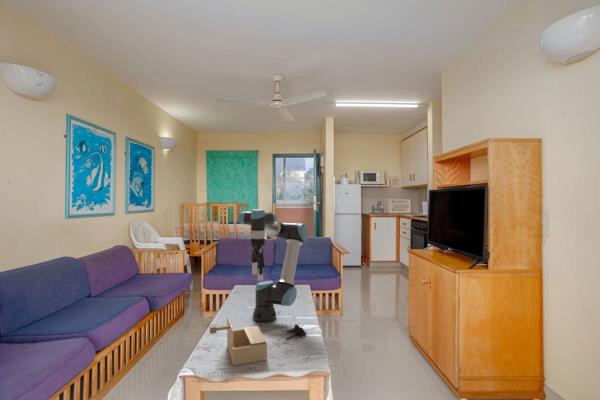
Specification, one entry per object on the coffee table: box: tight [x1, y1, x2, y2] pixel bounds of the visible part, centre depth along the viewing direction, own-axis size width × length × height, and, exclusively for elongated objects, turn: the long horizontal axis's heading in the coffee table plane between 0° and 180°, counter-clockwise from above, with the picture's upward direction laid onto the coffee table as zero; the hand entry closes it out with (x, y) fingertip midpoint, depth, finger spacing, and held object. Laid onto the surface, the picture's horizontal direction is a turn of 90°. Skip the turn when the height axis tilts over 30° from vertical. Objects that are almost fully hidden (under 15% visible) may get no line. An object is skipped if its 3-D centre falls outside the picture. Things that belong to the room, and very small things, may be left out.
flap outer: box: [209, 315, 234, 347], centre depth 150 cm, size 19×7×10 cm
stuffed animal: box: [285, 323, 307, 341], centre depth 176 cm, size 12×10×12 cm
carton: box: [226, 325, 268, 367], centre depth 154 cm, size 20×16×9 cm
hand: (257, 277), depth 167 cm, fingers open, 13 cm apart
